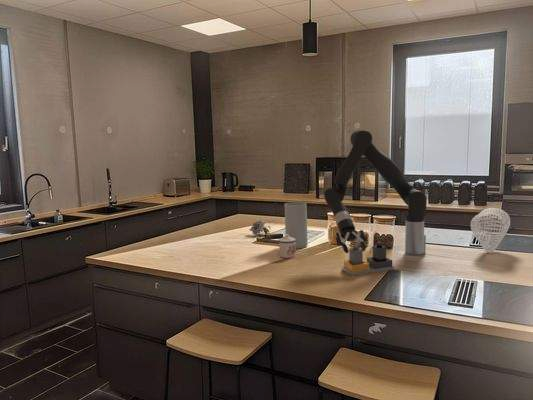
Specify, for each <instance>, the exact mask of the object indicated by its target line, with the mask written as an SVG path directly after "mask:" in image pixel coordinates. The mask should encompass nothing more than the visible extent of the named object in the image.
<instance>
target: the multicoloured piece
mask: <svg viewBox="0 0 533 400" xmlns="http://www.w3.org/2000/svg"><path fill="white" fill-rule="evenodd" d="M341 269H342V271H343V272H345V273H346V274H347V275H349V276H358V275H364V274H372V273H379V272H380V273H381V272H388V271H394V270H395V266H394V265H393V260H392V259H390V258H389V257H387V246H384V245H383V241H376V245H372V256H369V257H366V260H364V259H363V263H362V264H354V265H353V264H351V263H350V259H347V260H345V259H344V260H343V266H342V267H341Z"/></svg>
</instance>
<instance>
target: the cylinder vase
mask: <svg viewBox="0 0 533 400" xmlns="http://www.w3.org/2000/svg"><path fill="white" fill-rule="evenodd" d="M284 228H285V229H284V230H285V235H286V234H288V235H289V236H290V237H292V238H295V240H296V247H295V250H301V249H305V248H307V247H308V245H309V244H308V243H309V242H308V210H307V203H306V202H302V201H294V202H293V201H292V202H291V201H290V202H286V203H284Z"/></svg>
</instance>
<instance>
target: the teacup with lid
mask: <svg viewBox="0 0 533 400" xmlns="http://www.w3.org/2000/svg"><path fill="white" fill-rule="evenodd" d="M278 247H279V249H278V252H279V253H278V255H279V257H280V258H282V259H283V258H284V259H291V258H295V257H296V255H297V254H296V249H295V247H296V240H295V238H292V237H290V236H289V235H288V234H286V233H285V234H284V236H283V237H281V238H278Z"/></svg>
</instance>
